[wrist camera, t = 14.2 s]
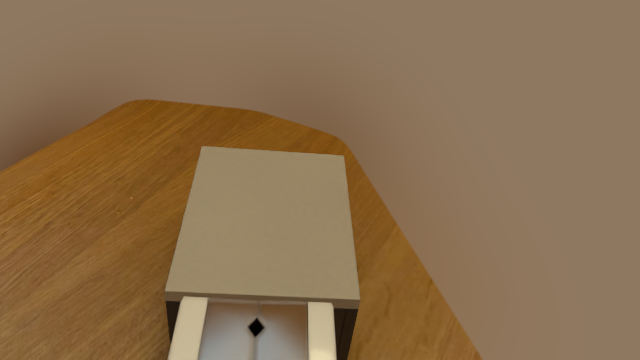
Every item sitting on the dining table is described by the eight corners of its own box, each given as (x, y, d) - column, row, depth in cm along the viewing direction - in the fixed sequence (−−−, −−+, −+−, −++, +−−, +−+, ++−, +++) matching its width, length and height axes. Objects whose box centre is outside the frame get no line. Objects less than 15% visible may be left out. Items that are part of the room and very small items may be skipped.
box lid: (202, 155, 48) (201, 145, 48) (342, 164, 49) (343, 155, 49) (165, 301, 35) (164, 290, 34) (358, 309, 36) (360, 299, 35)
